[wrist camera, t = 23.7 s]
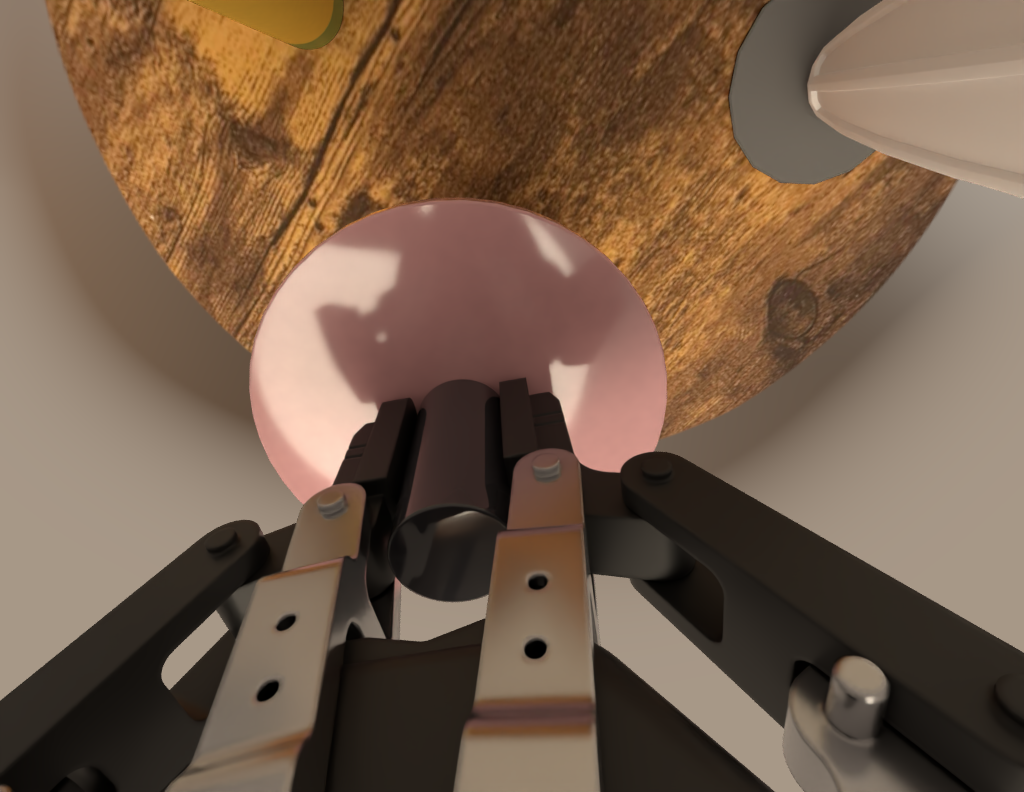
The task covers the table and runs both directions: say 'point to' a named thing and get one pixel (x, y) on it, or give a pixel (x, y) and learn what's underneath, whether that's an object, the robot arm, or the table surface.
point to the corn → (285, 18)
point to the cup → (883, 88)
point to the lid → (452, 366)
